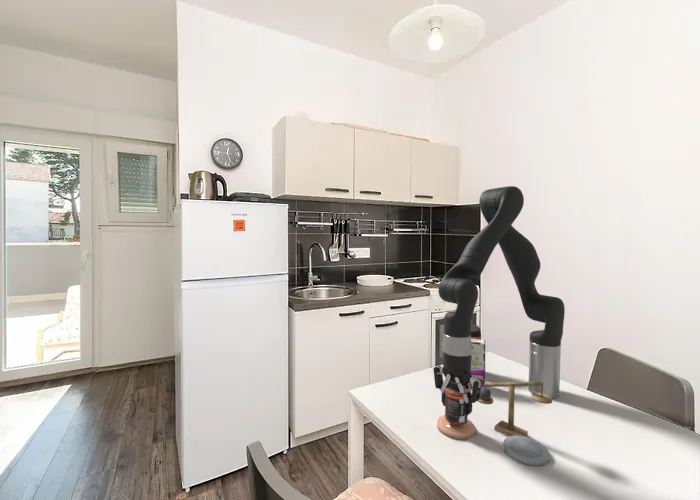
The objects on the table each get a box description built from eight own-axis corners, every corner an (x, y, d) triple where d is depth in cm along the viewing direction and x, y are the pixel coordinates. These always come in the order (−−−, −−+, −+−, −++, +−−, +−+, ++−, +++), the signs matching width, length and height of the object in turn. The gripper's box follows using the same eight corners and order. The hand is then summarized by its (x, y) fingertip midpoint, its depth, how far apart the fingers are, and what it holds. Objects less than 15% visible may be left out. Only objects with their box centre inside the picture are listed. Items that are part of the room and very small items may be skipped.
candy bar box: (485, 384, 121) (486, 339, 120) (485, 390, 117) (485, 343, 116) (452, 379, 125) (453, 335, 125) (451, 384, 121) (452, 339, 120)
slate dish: (513, 435, 90) (513, 430, 90) (555, 453, 83) (555, 448, 83) (496, 450, 84) (496, 445, 84) (539, 472, 76) (539, 466, 76)
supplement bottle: (469, 427, 90) (469, 386, 89) (445, 425, 91) (446, 384, 91) (465, 415, 96) (466, 377, 95) (444, 413, 97) (444, 375, 96)
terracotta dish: (449, 414, 101) (449, 410, 101) (481, 429, 93) (481, 424, 93) (429, 427, 94) (430, 423, 94) (462, 444, 87) (462, 439, 86)
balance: (480, 415, 100) (481, 360, 100) (553, 446, 86) (555, 382, 85) (472, 420, 97) (473, 364, 97) (547, 454, 83) (549, 387, 82)
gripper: (488, 353, 90) (487, 415, 90) (442, 341, 100) (441, 395, 101) (474, 361, 85) (473, 425, 86) (427, 346, 96) (426, 404, 96)
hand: (456, 409), depth 93 cm, fingers closed on supplement bottle, 6 cm apart
